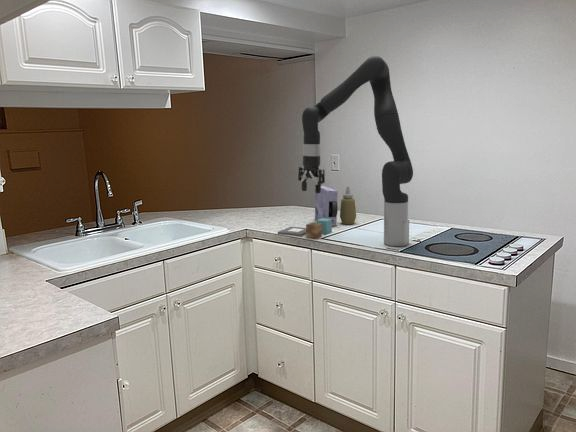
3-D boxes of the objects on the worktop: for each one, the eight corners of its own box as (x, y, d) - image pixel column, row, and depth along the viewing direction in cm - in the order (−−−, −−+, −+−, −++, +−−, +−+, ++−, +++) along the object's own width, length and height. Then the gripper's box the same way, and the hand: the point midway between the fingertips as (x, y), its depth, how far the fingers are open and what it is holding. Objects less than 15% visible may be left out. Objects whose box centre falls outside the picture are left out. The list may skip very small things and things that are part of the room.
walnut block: (321, 236, 203) (321, 223, 202) (316, 239, 199) (316, 225, 197) (311, 235, 205) (311, 222, 204) (306, 238, 201) (305, 224, 200)
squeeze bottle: (351, 225, 222) (351, 188, 219) (336, 224, 227) (336, 187, 224) (359, 222, 228) (359, 186, 225) (345, 221, 233) (344, 185, 230)
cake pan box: (338, 226, 221) (338, 190, 218) (328, 227, 220) (328, 190, 216) (323, 219, 239) (322, 185, 236) (314, 220, 238) (313, 186, 234)
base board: (313, 230, 214) (313, 228, 214) (300, 236, 204) (300, 234, 204) (291, 228, 220) (291, 226, 220) (277, 233, 210) (277, 231, 210)
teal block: (331, 232, 211) (331, 219, 210) (326, 234, 207) (326, 221, 206) (321, 231, 214) (321, 218, 212) (316, 233, 209) (316, 220, 208)
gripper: (329, 155, 197) (328, 193, 200) (306, 153, 208) (306, 189, 211) (316, 156, 192) (316, 194, 196) (294, 154, 203) (293, 190, 206)
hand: (310, 191), depth 203 cm, fingers open, 8 cm apart
